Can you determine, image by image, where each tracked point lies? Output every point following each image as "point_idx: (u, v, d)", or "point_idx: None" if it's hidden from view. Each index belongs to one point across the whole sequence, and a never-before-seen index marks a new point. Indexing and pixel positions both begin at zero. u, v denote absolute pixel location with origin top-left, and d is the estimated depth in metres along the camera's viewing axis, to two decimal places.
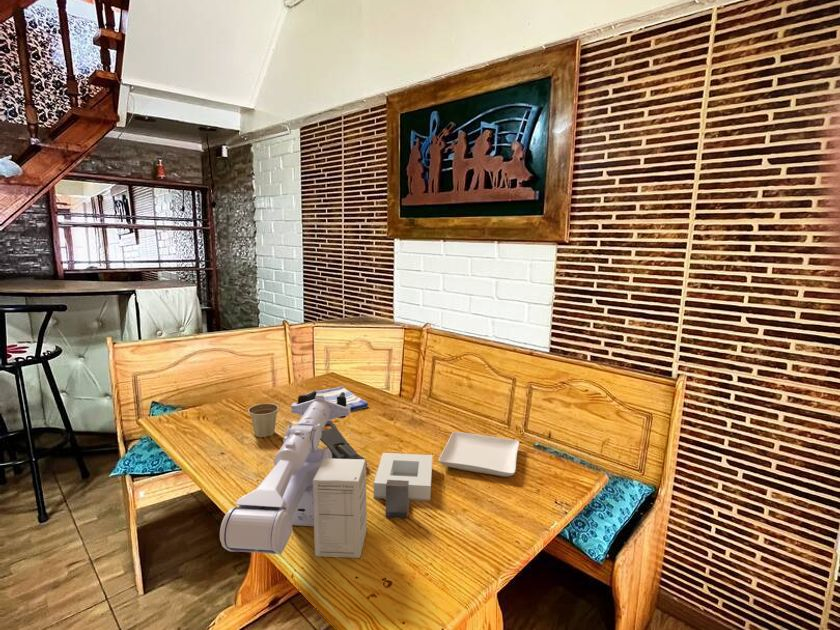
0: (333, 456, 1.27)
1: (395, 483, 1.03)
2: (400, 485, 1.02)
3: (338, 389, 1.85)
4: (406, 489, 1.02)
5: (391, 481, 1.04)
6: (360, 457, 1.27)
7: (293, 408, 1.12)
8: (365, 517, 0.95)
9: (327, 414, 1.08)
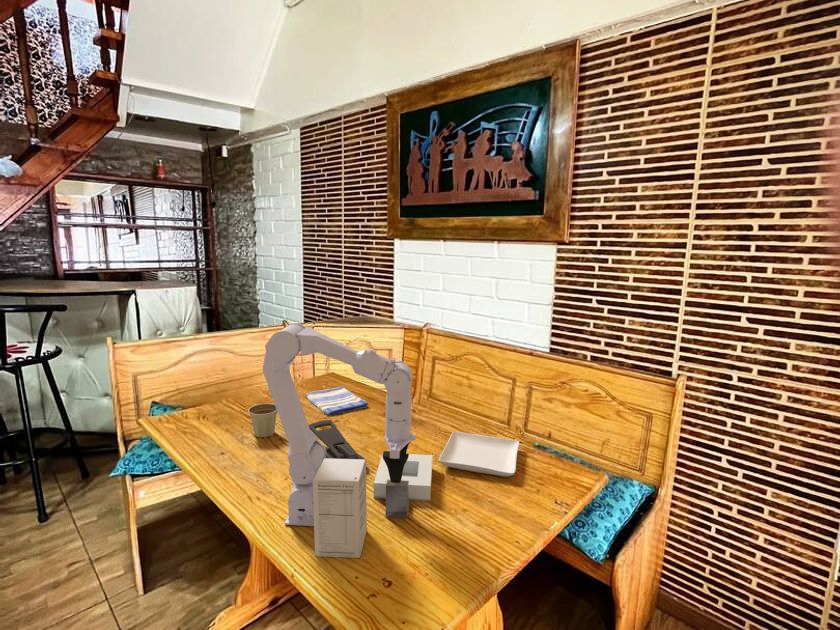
0: (333, 455, 1.27)
1: (395, 483, 1.03)
2: (400, 485, 1.02)
3: (338, 389, 1.85)
4: (406, 489, 1.02)
5: None
6: (360, 456, 1.27)
7: None
8: (365, 517, 0.95)
9: (400, 427, 0.98)
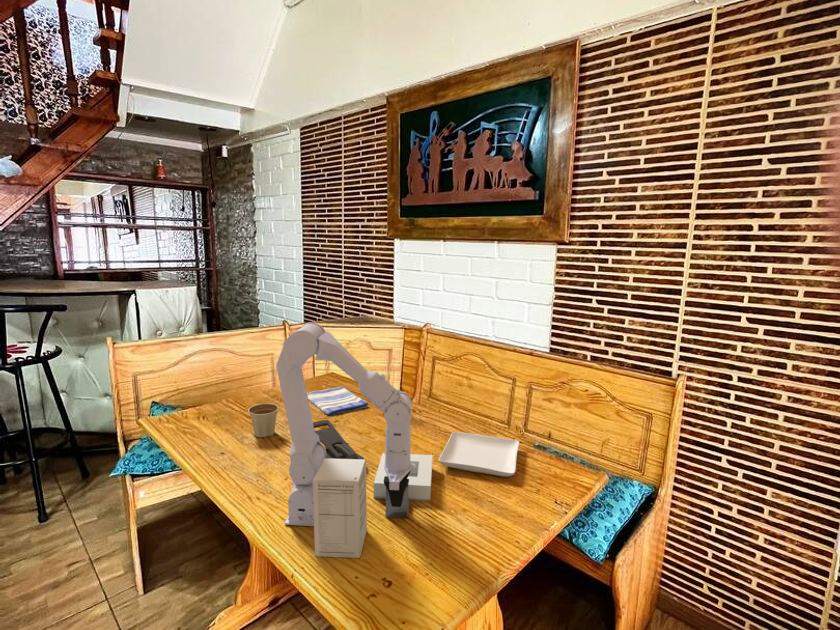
0: (331, 455, 1.28)
1: None
2: None
3: (338, 389, 1.85)
4: (406, 489, 1.02)
5: None
6: (358, 456, 1.27)
7: None
8: (365, 517, 0.95)
9: (399, 458, 0.99)
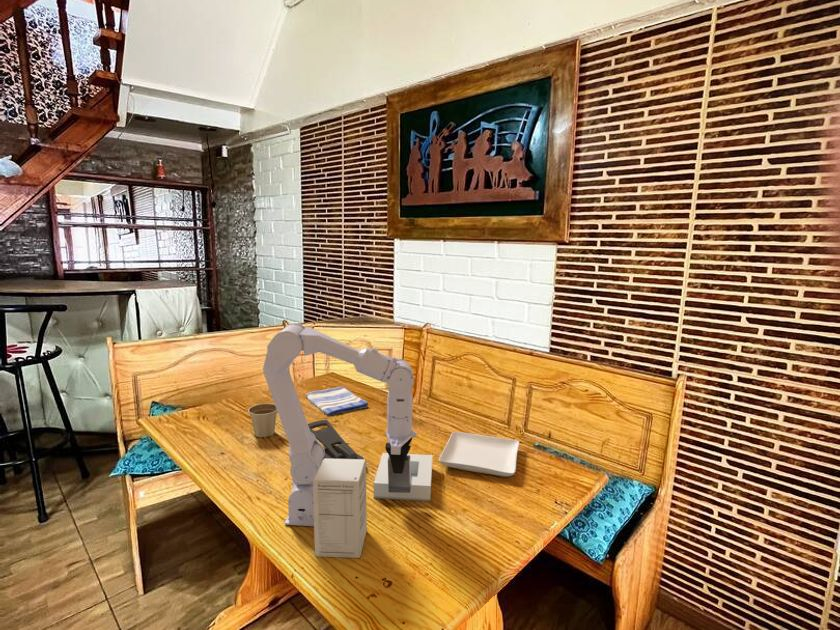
0: (331, 455, 1.28)
1: None
2: None
3: (338, 389, 1.85)
4: (408, 463, 1.03)
5: None
6: (358, 456, 1.28)
7: None
8: (365, 517, 0.95)
9: (401, 424, 1.00)
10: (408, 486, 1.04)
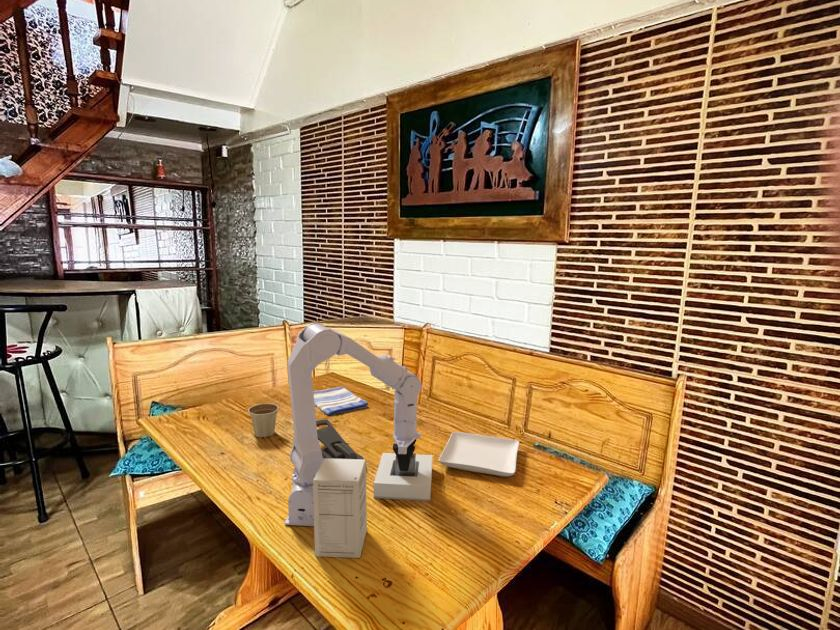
0: (330, 454, 1.28)
1: None
2: None
3: (338, 389, 1.85)
4: (413, 460, 1.14)
5: None
6: (357, 455, 1.28)
7: None
8: (365, 517, 0.95)
9: (406, 427, 1.11)
10: None
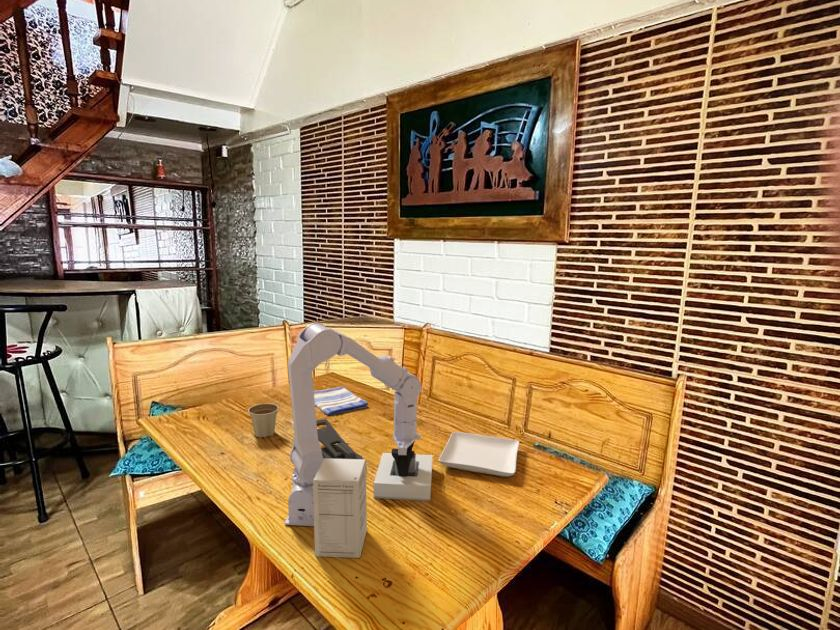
0: (330, 454, 1.28)
1: None
2: None
3: (338, 389, 1.86)
4: (413, 460, 1.14)
5: None
6: (356, 455, 1.28)
7: None
8: (365, 517, 0.95)
9: (406, 428, 1.11)
10: None
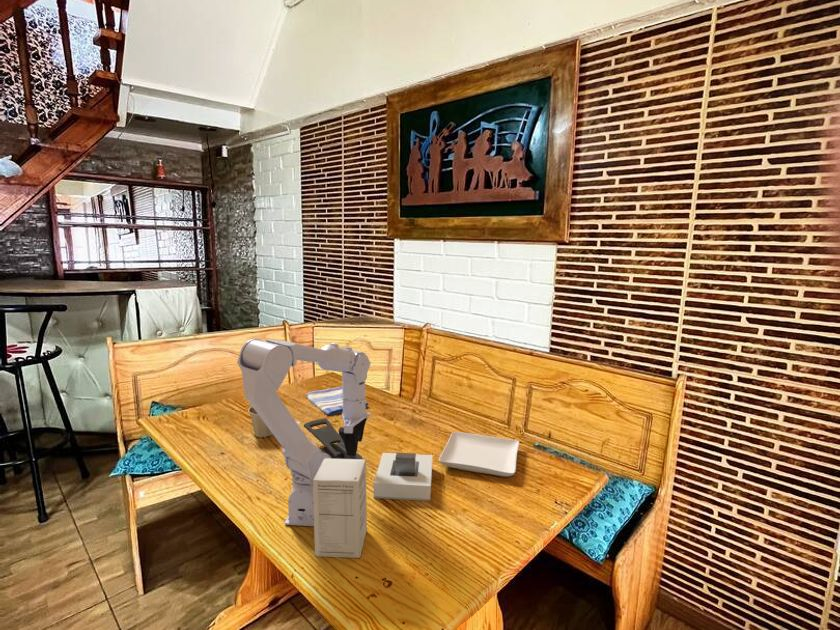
0: (329, 453, 1.29)
1: (403, 455, 1.15)
2: (408, 457, 1.14)
3: (338, 389, 1.86)
4: (413, 460, 1.14)
5: (400, 454, 1.16)
6: (356, 454, 1.28)
7: None
8: (365, 517, 0.95)
9: (354, 406, 1.10)
10: None
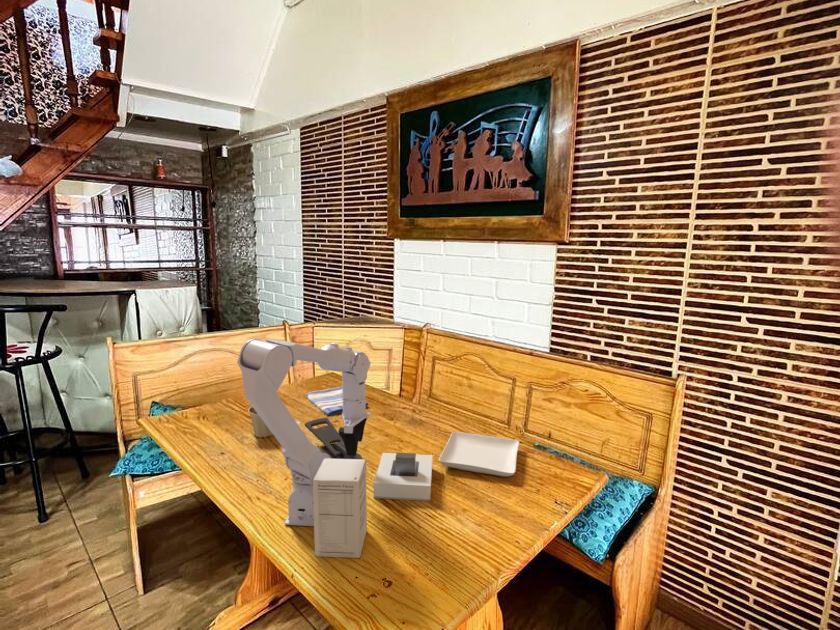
0: (329, 453, 1.29)
1: (403, 455, 1.15)
2: (408, 457, 1.14)
3: (338, 389, 1.86)
4: (413, 460, 1.14)
5: (400, 454, 1.16)
6: (356, 454, 1.29)
7: None
8: (365, 517, 0.95)
9: (354, 406, 1.10)
10: None
